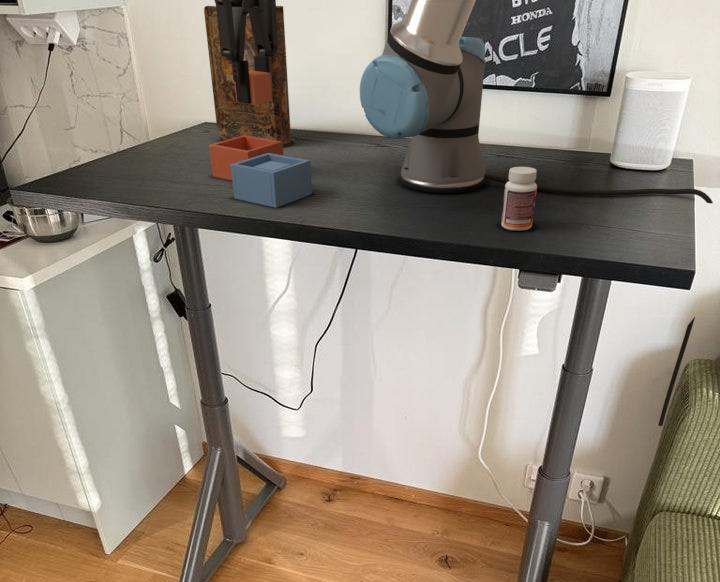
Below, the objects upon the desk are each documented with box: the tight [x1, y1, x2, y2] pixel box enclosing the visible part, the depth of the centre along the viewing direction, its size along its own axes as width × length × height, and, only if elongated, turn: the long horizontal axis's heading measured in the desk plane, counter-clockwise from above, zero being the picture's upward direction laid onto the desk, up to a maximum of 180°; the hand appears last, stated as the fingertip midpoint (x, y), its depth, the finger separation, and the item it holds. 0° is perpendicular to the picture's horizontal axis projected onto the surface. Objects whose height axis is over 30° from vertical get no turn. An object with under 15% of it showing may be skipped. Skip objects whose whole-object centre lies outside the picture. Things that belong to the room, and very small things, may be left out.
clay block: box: [235, 70, 272, 105], centre depth 129 cm, size 4×4×4 cm
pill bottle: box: [500, 166, 538, 232], centre depth 110 cm, size 5×5×8 cm
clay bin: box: [208, 135, 285, 182], centre depth 136 cm, size 10×10×6 cm
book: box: [203, 5, 292, 148], centre depth 152 cm, size 16×6×25 cm, turn 63°
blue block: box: [254, 161, 290, 171], centre depth 125 cm, size 4×4×4 cm
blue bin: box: [231, 153, 313, 209], centre depth 125 cm, size 10×10×6 cm
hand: (254, 99), depth 130 cm, fingers closed on clay block, 4 cm apart
